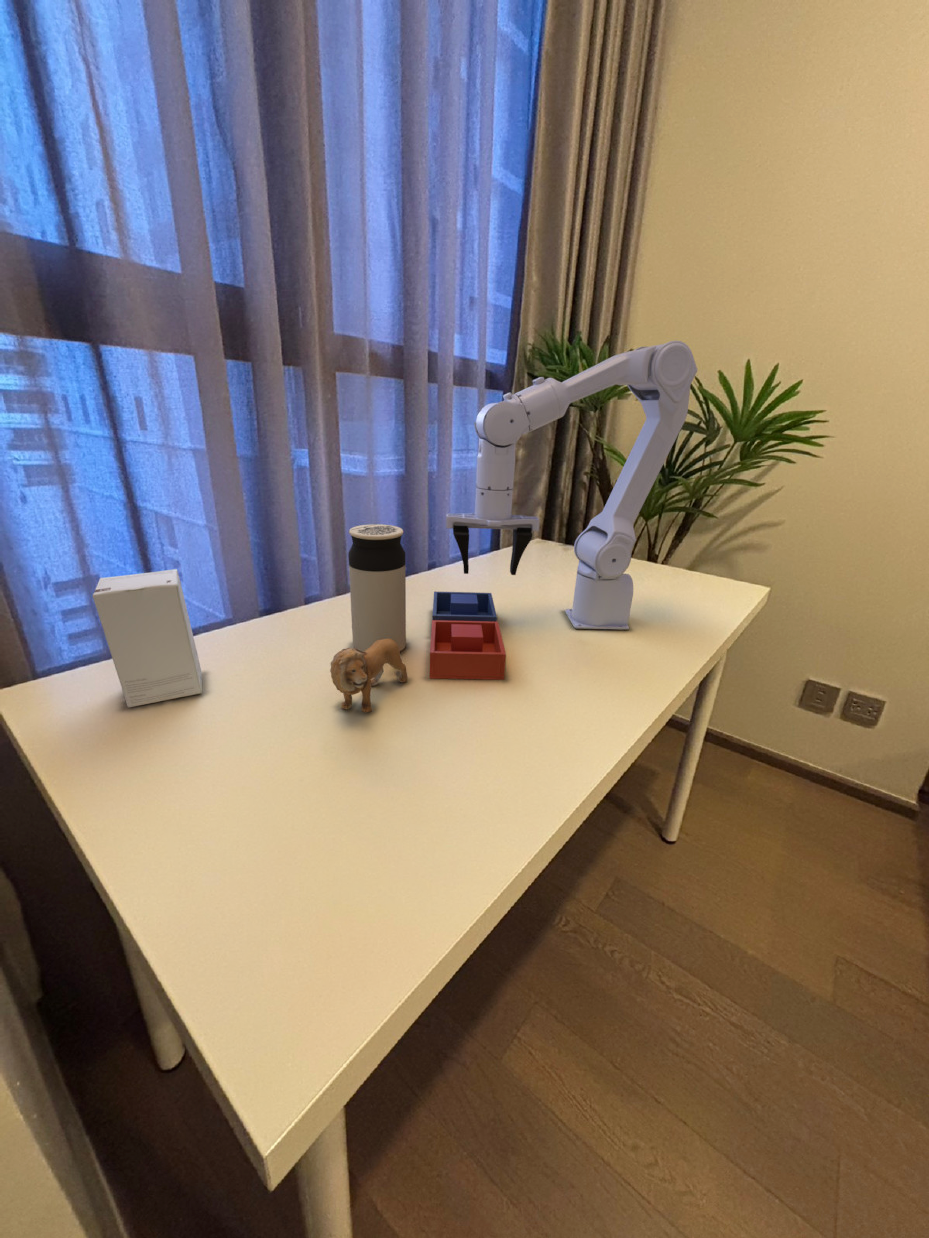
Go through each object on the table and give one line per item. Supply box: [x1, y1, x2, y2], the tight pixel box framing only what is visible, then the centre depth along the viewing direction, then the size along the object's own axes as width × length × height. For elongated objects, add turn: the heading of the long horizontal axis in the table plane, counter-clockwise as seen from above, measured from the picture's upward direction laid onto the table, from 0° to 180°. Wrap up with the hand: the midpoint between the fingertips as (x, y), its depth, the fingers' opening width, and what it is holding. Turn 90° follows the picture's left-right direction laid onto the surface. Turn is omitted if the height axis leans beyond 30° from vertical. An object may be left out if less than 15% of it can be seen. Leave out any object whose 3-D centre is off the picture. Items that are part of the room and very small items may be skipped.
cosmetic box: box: [92, 568, 203, 708], centre depth 60 cm, size 8×6×15 cm
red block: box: [451, 624, 483, 652], centre depth 73 cm, size 4×4×4 cm
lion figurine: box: [329, 639, 408, 713], centre depth 62 cm, size 15×5×9 cm, turn 162°
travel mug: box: [347, 523, 407, 652], centre depth 74 cm, size 8×8×18 cm
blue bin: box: [431, 590, 498, 622], centre depth 85 cm, size 10×11×4 cm
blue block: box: [450, 594, 478, 615], centre depth 85 cm, size 4×4×4 cm
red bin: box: [429, 619, 507, 681], centre depth 73 cm, size 10×11×4 cm
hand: (489, 572), depth 82 cm, fingers open, 7 cm apart
